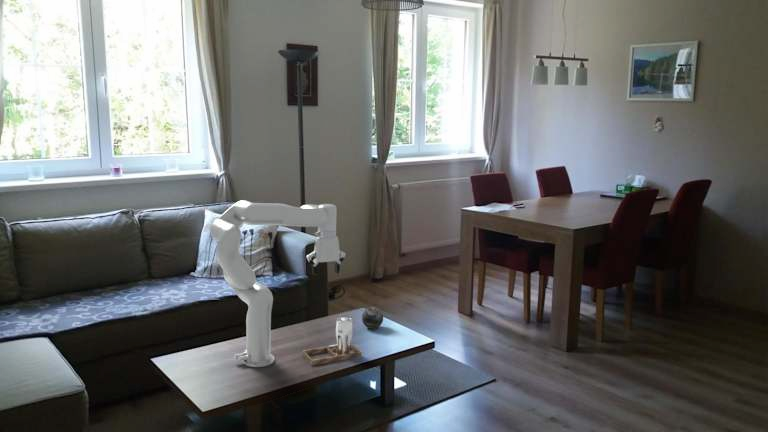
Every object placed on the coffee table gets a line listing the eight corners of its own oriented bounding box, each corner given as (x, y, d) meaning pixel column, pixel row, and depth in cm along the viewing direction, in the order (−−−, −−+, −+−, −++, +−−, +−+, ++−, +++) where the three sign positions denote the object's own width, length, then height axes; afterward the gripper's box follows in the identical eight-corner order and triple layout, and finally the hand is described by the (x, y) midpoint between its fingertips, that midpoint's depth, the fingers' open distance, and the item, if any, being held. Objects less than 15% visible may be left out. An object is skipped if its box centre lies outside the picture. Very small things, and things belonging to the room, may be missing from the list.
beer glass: (352, 351, 262) (354, 317, 260) (350, 358, 256) (351, 323, 253) (336, 350, 263) (337, 316, 260) (333, 356, 256) (334, 322, 253)
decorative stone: (367, 333, 284) (368, 312, 282) (357, 326, 292) (358, 305, 290) (386, 330, 288) (387, 309, 287) (376, 323, 297) (377, 303, 295)
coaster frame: (311, 365, 247) (311, 360, 247) (301, 355, 257) (301, 349, 256) (361, 356, 257) (361, 351, 257) (350, 347, 267) (350, 342, 266)
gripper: (310, 237, 250) (309, 278, 253) (349, 234, 258) (348, 274, 261) (303, 233, 257) (303, 273, 260) (342, 230, 265) (341, 269, 268)
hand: (325, 273), depth 261 cm, fingers open, 9 cm apart
